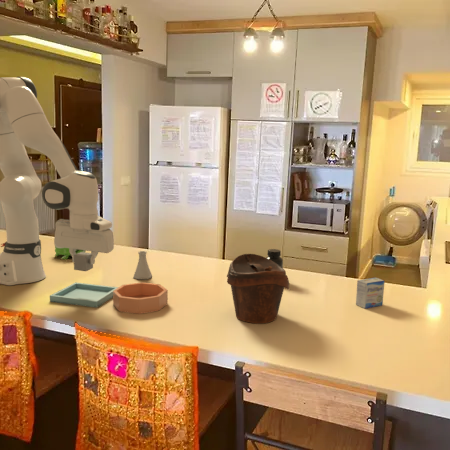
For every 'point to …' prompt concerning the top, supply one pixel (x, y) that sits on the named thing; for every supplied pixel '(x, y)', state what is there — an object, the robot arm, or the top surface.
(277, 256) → the supplement bottle
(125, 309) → the terracotta bowl
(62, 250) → the turtle holder
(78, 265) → the grey square block
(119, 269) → the top surface
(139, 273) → the flask
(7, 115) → the robot arm
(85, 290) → the parts tray
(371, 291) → the medicine box
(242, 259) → the brown lidded bucket
